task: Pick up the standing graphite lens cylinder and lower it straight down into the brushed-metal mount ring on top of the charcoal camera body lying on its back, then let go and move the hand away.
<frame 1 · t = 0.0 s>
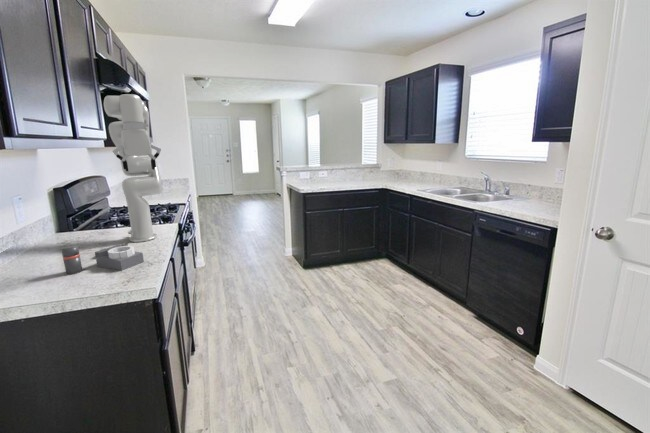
hand: (140, 170, 139), 37 cm above the countertop, tool pointing down, fingers open, 9 cm apart
egg carton: (115, 255, 151), on the countertop
lens: (74, 271, 131), on the countertop
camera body: (120, 263, 139), on the countertop
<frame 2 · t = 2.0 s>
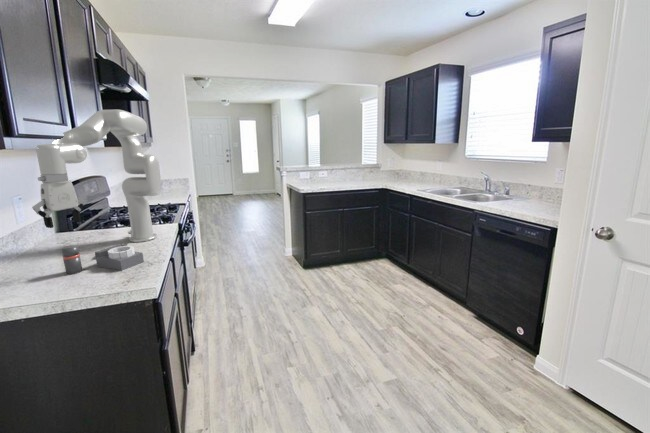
hand: (64, 224, 127), 19 cm above the countertop, tool pointing down, fingers open, 9 cm apart
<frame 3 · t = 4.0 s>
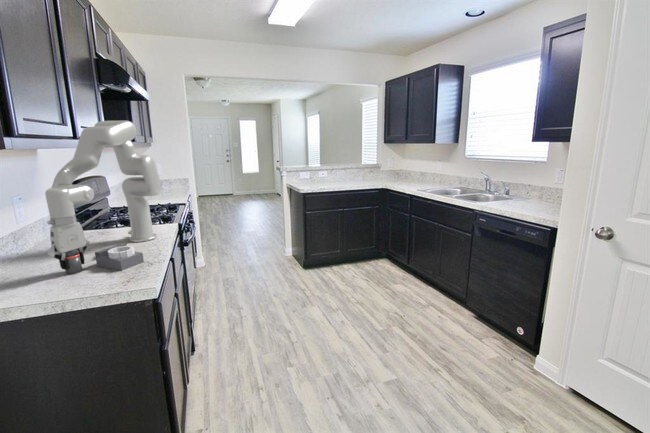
hand: (73, 265, 131), 2 cm above the countertop, tool pointing down, fingers closed on lens, 5 cm apart
lens: (74, 271, 131), on the countertop, touching gripper
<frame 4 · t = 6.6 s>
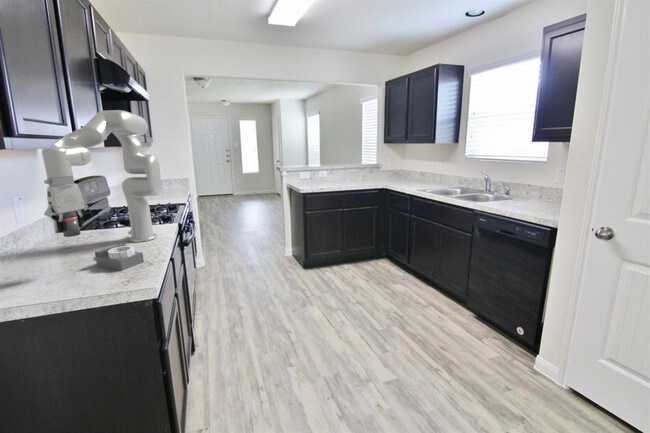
hand: (71, 228, 128), 17 cm above the countertop, tool pointing down, fingers closed on lens, 5 cm apart
lens: (72, 234, 129), point 15 cm above the countertop, touching gripper
when the fingers open (8 cm above the countertop, at t = 9.2 s): lens drops 2 cm, resting on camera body.
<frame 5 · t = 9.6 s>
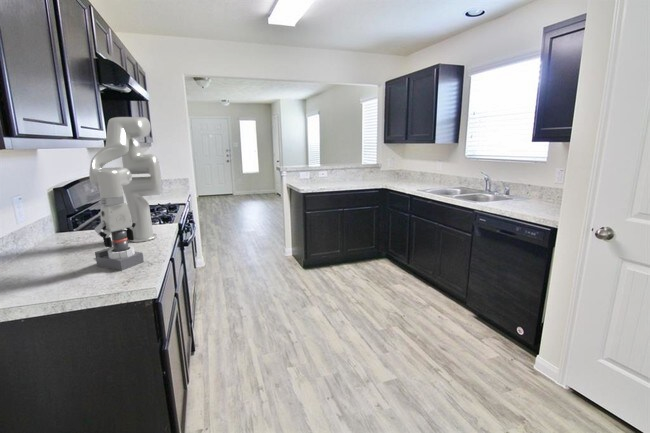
hand: (119, 243, 136), 9 cm above the countertop, tool pointing down, fingers open, 9 cm apart
lens: (122, 254, 137), point 4 cm above the countertop, touching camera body
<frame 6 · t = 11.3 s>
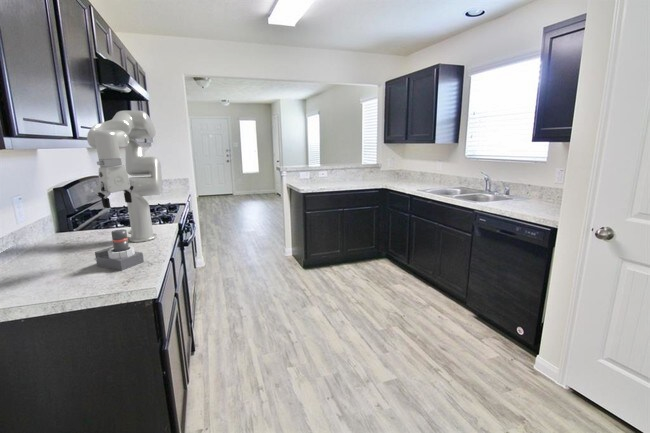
hand: (118, 205, 138), 24 cm above the countertop, tool pointing down, fingers open, 9 cm apart
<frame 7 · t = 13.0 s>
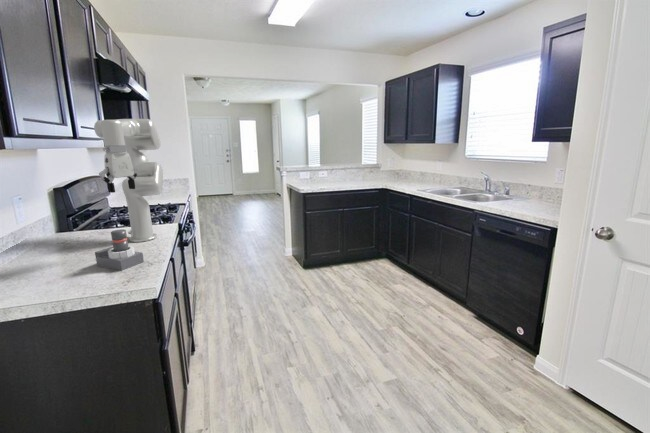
hand: (122, 190, 146), 28 cm above the countertop, tool pointing down, fingers open, 9 cm apart
at the end: lens 0.2 cm from the target spot on the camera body, point 4.1 cm above the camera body's base; lens tilted 2°; the gripper is holding nothing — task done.
